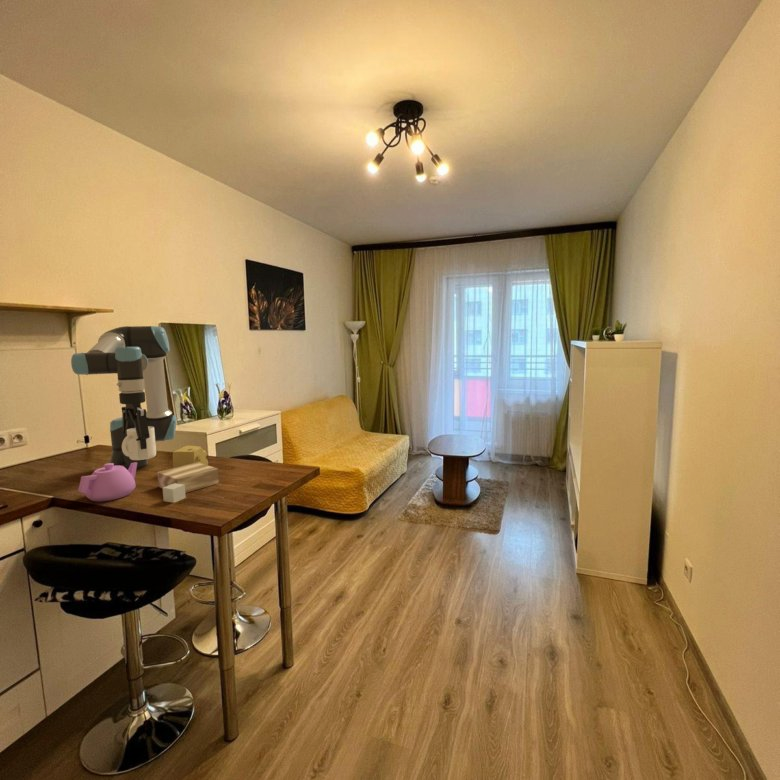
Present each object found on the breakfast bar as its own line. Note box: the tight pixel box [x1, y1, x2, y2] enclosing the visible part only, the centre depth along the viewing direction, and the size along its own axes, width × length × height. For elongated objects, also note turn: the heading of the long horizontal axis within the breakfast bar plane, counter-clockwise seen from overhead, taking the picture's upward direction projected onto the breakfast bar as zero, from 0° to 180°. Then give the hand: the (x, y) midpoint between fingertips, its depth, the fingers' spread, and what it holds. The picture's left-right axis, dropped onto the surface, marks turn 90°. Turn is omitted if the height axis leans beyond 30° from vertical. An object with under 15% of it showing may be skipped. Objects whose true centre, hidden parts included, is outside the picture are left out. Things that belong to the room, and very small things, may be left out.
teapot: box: [77, 462, 138, 502], centre depth 153 cm, size 22×16×12 cm
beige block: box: [162, 483, 187, 504], centre depth 147 cm, size 5×5×5 cm
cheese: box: [172, 445, 209, 468], centre depth 182 cm, size 10×11×10 cm
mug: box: [122, 426, 157, 460], centre depth 142 cm, size 12×8×10 cm
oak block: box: [156, 462, 220, 494], centre depth 163 cm, size 16×16×6 cm
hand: (137, 456), depth 143 cm, fingers closed on mug, 8 cm apart
